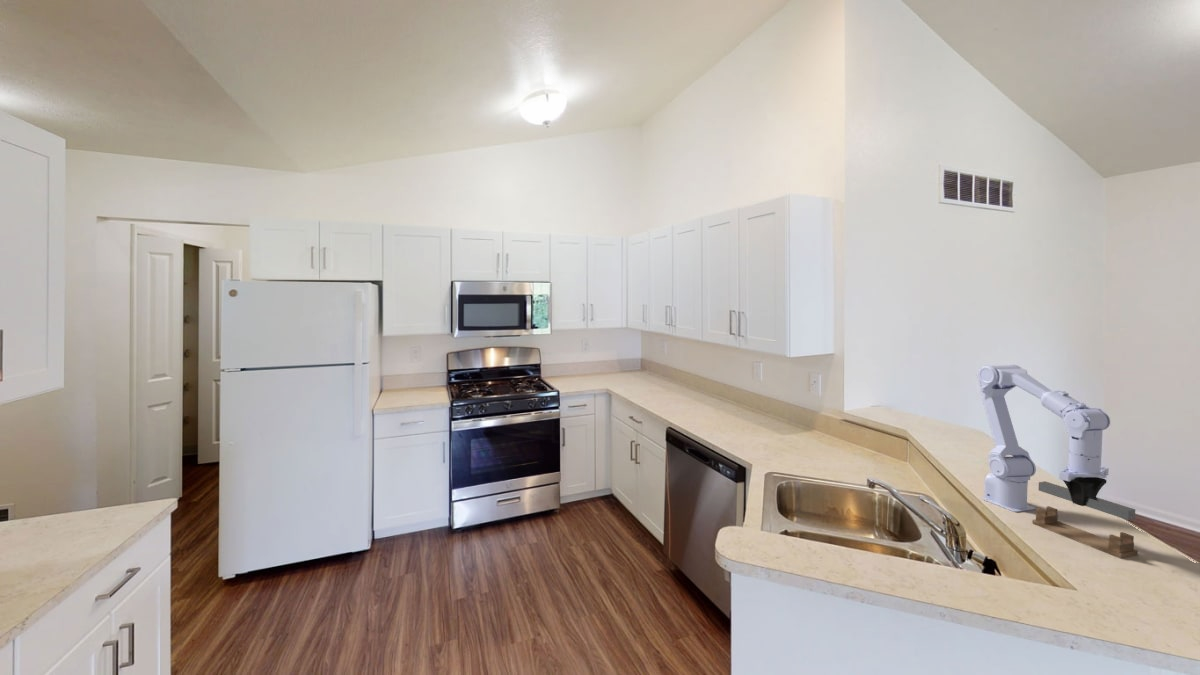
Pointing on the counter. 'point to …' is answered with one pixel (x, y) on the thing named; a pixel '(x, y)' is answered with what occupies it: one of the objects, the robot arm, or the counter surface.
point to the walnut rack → (1086, 535)
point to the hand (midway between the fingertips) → (1082, 503)
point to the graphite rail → (1090, 501)
